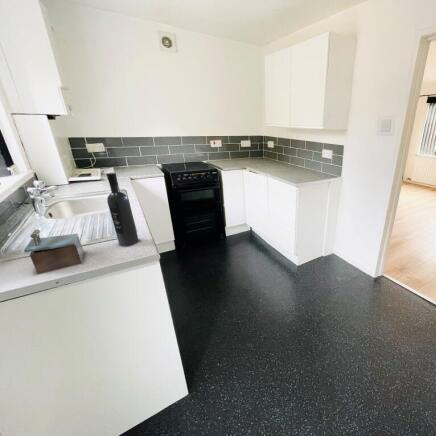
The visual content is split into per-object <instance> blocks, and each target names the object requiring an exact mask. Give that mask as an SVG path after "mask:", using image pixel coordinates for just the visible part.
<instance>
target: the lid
mask: <svg viewBox="0 0 436 436" xmlns="http://www.w3.org/2000/svg"><path fill="white" fill-rule="evenodd" d="M40 233H41V230H40V229H34V230H33V231H32V233H31V234H30V238H31V240H30V241H29V243H27V246H26V247H25V248H24V250H23V252H24V253H31V252H32V251H38V250H45V249H52V248H59V247H66V246H73V245H76V241H77V237H79V234H78V233H72V234H71V233H70V234H62V235H54V236H47V237H41V236H40Z"/></svg>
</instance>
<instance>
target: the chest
mask: <svg viewBox="0 0 436 436" xmlns="http://www.w3.org/2000/svg"><path fill="white" fill-rule="evenodd" d="M84 252H85V251H84V249H83V246H82V243H81V240H80V237H79V236H78V237H77V241H76V245H73V246H66V247H59V248H52V249H45V250H38V251H31V252H29V253H30V254H29V257H30V260H31V262H32V264H33V267H34V269H35V271H36V273H37V274H38V275H40V274H43V273H44V274H45V273H48V272H52V271H55V270H59V269H63V268H68V267H72V266H75V265H80V264H83V259H84V254H85V253H84Z"/></svg>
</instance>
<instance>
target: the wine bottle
mask: <svg viewBox="0 0 436 436" xmlns="http://www.w3.org/2000/svg"><path fill="white" fill-rule="evenodd" d="M105 176H106V178H107V180H108V184H109V188H110V193H109V195H108V196H107V199H106V202H107V207H108V209H109V213H110V216H111V220H112V224H113V228H114V232H115V234H116V239H117V242H118V245H119V246H120V247H121V246H122V247H131V246H133V245H136V244H138V243H139V242H140V239H139V235H138V231H137V228H136V227H137V226H136V223H135V219H134V215H133V211H132V207H131V203H130V200H129V197H128V196H127V194H125V192H122V191H121V190H120V185H119V181H118V177H117V174H116V173H115V172H110V173H106V175H105Z"/></svg>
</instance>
